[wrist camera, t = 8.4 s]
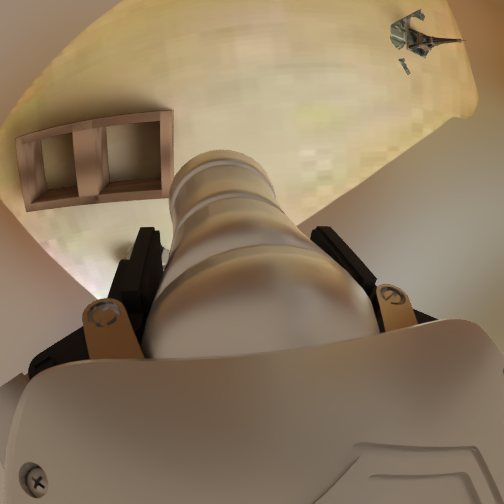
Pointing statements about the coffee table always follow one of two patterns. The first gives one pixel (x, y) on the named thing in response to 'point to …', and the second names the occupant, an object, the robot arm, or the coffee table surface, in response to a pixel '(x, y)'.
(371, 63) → the coffee table surface
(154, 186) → the bottle rack
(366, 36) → the coffee table surface
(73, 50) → the coffee table surface
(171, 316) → the plastic bottle
